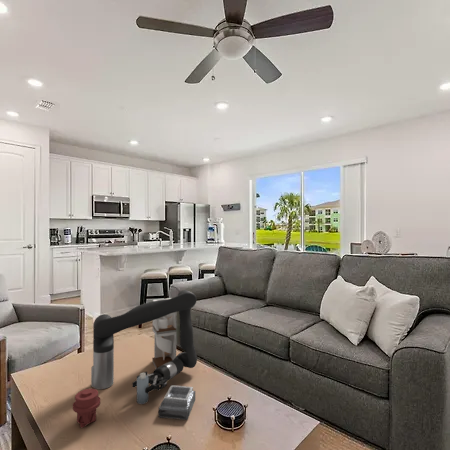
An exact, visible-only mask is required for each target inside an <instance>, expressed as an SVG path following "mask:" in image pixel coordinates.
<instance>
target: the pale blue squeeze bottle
mask: <svg viewBox="0 0 450 450" xmlns="http://www.w3.org/2000/svg"><path fill="white" fill-rule="evenodd" d="M139 375H140V376H139V377H138V378H137V377H136V380H137V386H136V403H137V404H139V405H144V404H147V403H148V402H149V393H145V389H146V388H147V387H148V386H149V385H150V384H149V377H148V376H146V373H144V372H140V374H139Z"/></svg>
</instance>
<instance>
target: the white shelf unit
mask: <svg viewBox="0 0 450 450" xmlns="http://www.w3.org/2000/svg"><path fill="white" fill-rule="evenodd" d="M171 298H172V297H167V298H158V299H152V301H159V300H167V299H171ZM177 314H178V312H174V313H171V314H168V315H166V316H163V317H161V318H158V319H155V320H152V332H153V334H154V346H153V347H154V350H153V351H154V352H153V353H154V355H153V356H154V357H152V358H151V359H152V363H153V365H154V368H155V369H156V368H158V367H160V366H162V365H163V364H165V363H168V362H170V361H172V360H174V359H175V357H176V356H177Z"/></svg>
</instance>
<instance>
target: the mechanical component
mask: <svg viewBox="0 0 450 450" xmlns="http://www.w3.org/2000/svg"><path fill="white" fill-rule="evenodd" d="M98 390H99V389H95V388H86V389H83V390H80V391H77V393H76V394H75V395H74V402H73V404H72V411H73V412H74V413H76V415H77V417H76V421H77V423H78V424H79V425H80V427H79V428H85V427H87V425H89V424H92V423H95V422H96V421H97V408H99V407H100V406H101V397H100V396H99V391H98Z"/></svg>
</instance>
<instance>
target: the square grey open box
mask: <svg viewBox="0 0 450 450" xmlns="http://www.w3.org/2000/svg"><path fill="white" fill-rule="evenodd" d="M195 401H196V390H194V387H193V386H185V385H172V384H171V385H170V387H169V388H168V390H167V392H166V394H165V395H164V398H163V399H162V401H161V402H160V405H159V407H158V414H157V415H158V418H160V419H161V418H162V419H170V420H171V419H174V420H180V421H181V420H182V421H183V420H184V421H188V420H189V418H190V414H191V412H192V410H193V407H194V404H195V403H196V402H195Z"/></svg>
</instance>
